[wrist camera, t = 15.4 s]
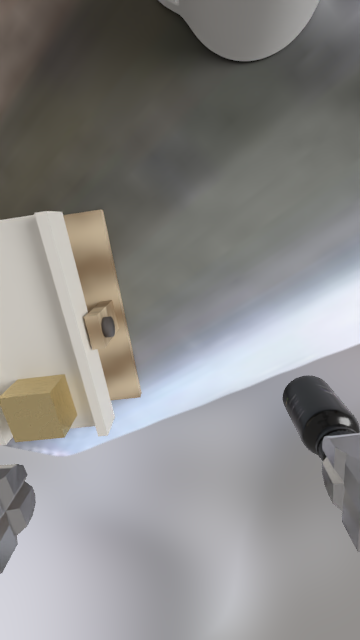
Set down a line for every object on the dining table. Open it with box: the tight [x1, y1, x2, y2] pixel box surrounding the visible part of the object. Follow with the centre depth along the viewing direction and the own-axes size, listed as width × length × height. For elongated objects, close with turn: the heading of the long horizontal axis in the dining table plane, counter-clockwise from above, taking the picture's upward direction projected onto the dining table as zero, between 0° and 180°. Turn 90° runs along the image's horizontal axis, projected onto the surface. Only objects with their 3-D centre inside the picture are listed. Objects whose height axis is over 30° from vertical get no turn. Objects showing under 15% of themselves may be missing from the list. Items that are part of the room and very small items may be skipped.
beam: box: [0, 211, 115, 445], centre depth 33 cm, size 26×14×4 cm, turn 8°
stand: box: [63, 210, 141, 400], centre depth 36 cm, size 26×20×8 cm
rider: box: [0, 374, 77, 442], centre depth 34 cm, size 6×6×4 cm
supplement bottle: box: [283, 376, 360, 461], centre depth 37 cm, size 7×7×12 cm
